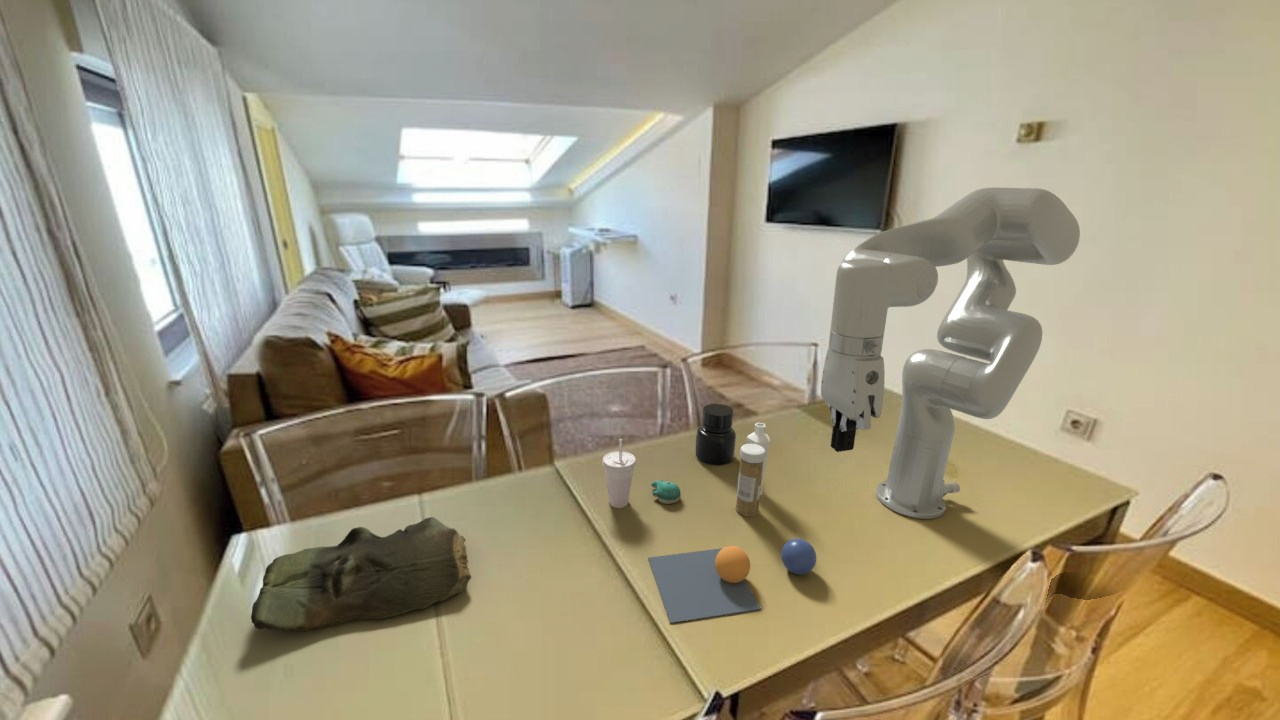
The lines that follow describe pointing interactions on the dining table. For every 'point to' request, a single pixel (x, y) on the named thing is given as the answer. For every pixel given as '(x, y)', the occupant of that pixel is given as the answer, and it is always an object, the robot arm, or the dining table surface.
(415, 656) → the dining table surface
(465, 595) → the dining table surface
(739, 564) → the orange ball
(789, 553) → the blue ball
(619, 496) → the smoothie
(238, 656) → the dining table surface
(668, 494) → the whale figurine
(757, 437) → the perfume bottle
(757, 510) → the sprinkles bottle
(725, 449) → the ink bottle
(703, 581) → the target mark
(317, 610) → the stone head
